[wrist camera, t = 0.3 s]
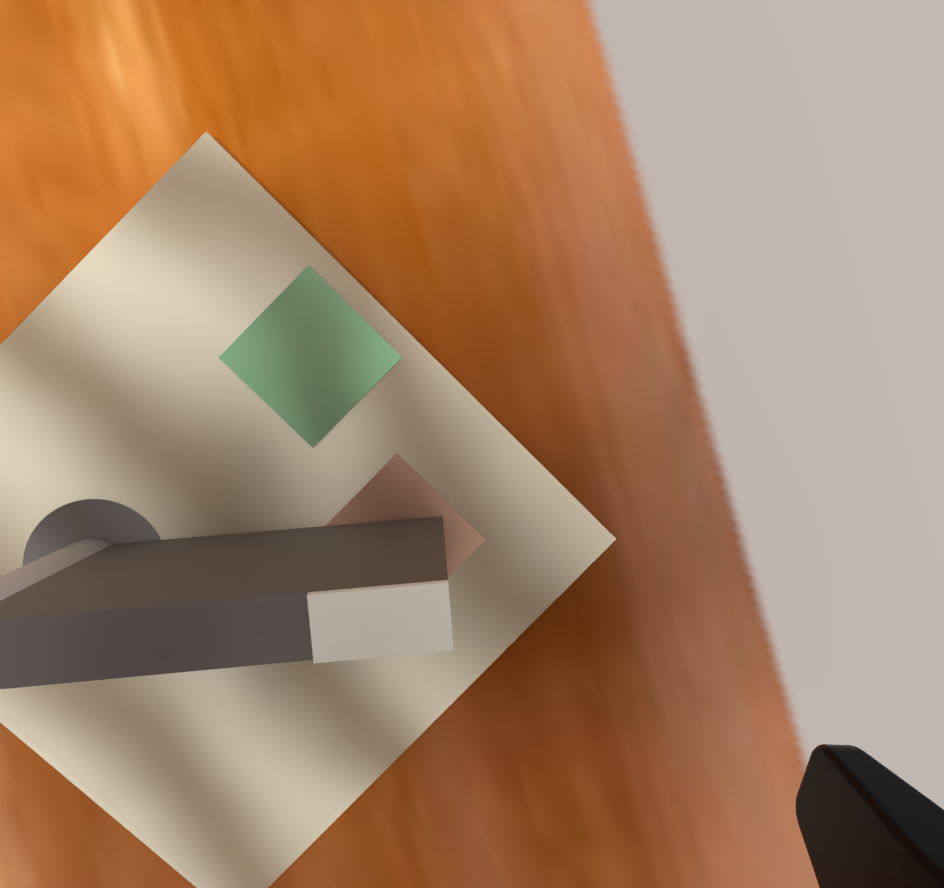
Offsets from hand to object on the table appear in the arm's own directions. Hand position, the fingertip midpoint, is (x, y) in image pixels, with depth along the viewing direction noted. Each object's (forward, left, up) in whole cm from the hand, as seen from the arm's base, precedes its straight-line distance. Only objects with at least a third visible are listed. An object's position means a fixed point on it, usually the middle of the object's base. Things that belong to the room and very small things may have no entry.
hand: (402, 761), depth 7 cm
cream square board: (-5, +4, -16) cm, 17 cm away
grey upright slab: (-5, +3, -15) cm, 16 cm away
